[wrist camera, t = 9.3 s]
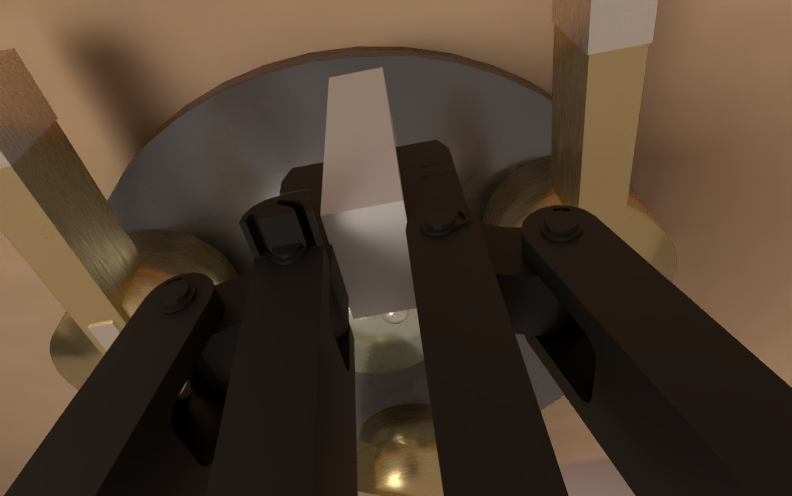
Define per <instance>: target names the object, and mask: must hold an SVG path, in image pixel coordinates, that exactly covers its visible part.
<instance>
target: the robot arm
mask: <svg viewBox="0 0 792 496" xmlns="http://www.w3.org/2000/svg"><path fill="white" fill-rule="evenodd" d="M279 194H280V196H277V197H273V198H270V199H266V200H264V201H262V202H260V203H258V204H256V205H254V206H253V207H251V208H250V209H249V210H248V211H247V212H246V213H245V214H244V215H243V216H242V218H241V220H240V222H239V225H240V227H241V229H242V232H243V234H244V236H245V238H246V241H247V243H248V245H249V247H250V250H251V252H252V254H253V256H254V262H253V267H252V269H250V270H249V271H247V272H246V273H243V274H241V275H239V276H237V277H235V278H232V279H230V280H228V281H225V282H223V283H220V284H218V285H215V284H214V282H213V280H212V279H211V278H210V277H208V276H207V275H206V274H202V273H196V272H192V273H185V274H180V275H177V276H175V277H172V278H170V279H167V280H166V281H164V282H163V283H161V284H160V285H158V286H156V287H155V288H154V289H153V290H152V291H151V292H150V293H149V294H148V295H147V296H146V297H145V298H144V300H143V301H142V303H141V304H140V305H139V307H138V308H137V310H136V311H135V312H134V314H133V315H132V317H131V318H130V319H129V321H128V322H127V324H126V325H125V327H124V328H123V329H122V331H121V332H120V334H119V335H118V336H117V338H116V339H115V341H114V342H113V343H112V345H111V346H110V348H109V349H108V350H107V352H106V353H105V355H104V356H103V357H102V359H101V360H100V362H99V363H98V364H97V366H96V367H95V369H94V370H93V371H92V373H91V374H90V376H89V377H88V378H87V380H86V381H85V383H84V384H83V385H82V387H81V388H80V390H79V391H78V392H77V394H76V395H75V397H74V398H73V399H72V401H71V402H70V404H69V405H68V407H67V408H66V409H65V411H64V412H63V414H62V415H61V416H60V418H59V419H58V421H57V422H56V423H55V425H54V426H53V428H52V429H51V430H50V432H49V433H48V435H47V436H46V437H45V439H44V440H43V442H42V443H41V444H40V446H39V447H38V449H37V450H36V451H35V453H34V454H33V456H32V457H31V458H30V460H29V461H28V463H27V464H26V465H25V467H24V468H23V470H22V471H21V472H20V474H19V475H18V477H17V478H16V480H15V481H14V482H13V484H12V485H11V487H10V488H9V489H8V491H7V492H6V494H5V495H4V496H358V484H357V439H356V393H355V348H354V336H353V333H352V329H351V326H350V323H349V307H350V310H351V313H352V317H353V319H357V318H363V317H368V316H374V315H380V314H386V313H392V312H397V311H403V310H409V309H415V308H417V314H418V321H419V328H420V335H421V342H422V349H423V356H424V363H425V370H426V377H427V383H428V390H429V397H430V404H431V411H432V418H433V425H434V432H435V439H436V446H437V453H438V460H439V467H440V474H441V480H442V487H443V494H444V496H568V493H567V490H566V487H565V484H564V481H563V478H562V475H561V472H560V469H559V466H558V463H557V460H556V456H555V453H554V450H553V447H552V444H551V441H550V438H549V435H548V432H547V429H546V426H545V423H544V420H543V417H542V414H541V411H540V408H539V405H538V402H537V399H536V396H535V393H534V390H533V387H532V384H531V381H530V378H529V375H528V372H527V369H526V366H525V363H524V360H523V357H522V353H521V350H520V347H519V344H518V341H517V338H516V335H515V334H522V335H525V338H526V340H527V342H528V344H529V345H530V346H531V348H532V349H533V351H534V352H535V353H536V355H537V356H538V358H539V359H540V361H541V362H542V363H543V365H544V366H545V368H546V369H547V371H548V372H549V373H550V375H551V376H552V378H553V379H554V380H555V382H556V383H557V385H558V386H559V388H560V389H561V390H562V392H563V393H564V395H565V396H566V397H567V399H568V400H569V402H570V403H571V405H572V406H573V407H574V409H575V410H576V412H577V413H578V415H579V416H580V417H581V419H582V420H583V422H584V423H585V424H586V426H587V427H588V429H589V430H590V432H591V433H592V434H593V436H594V437H595V439H596V440H597V442H598V443H599V444H600V446H601V447H602V449H603V450H604V451H605V453H606V454H607V456H608V457H609V459H610V460H611V461H612V463H613V464H614V466H615V467H616V468H617V470H618V471H619V473H620V474H621V475H622V477H623V478H624V480H625V481H626V483H627V484H628V486H629V487H630V488H631V489H632V491H633V493H634V494H635V495H636V496H792V388H791V387H790V386H789V385H788V384H787V383H786V382H785V381H783V380H782V379H781V378H780V377H779V376H778V375H777V374H775V373H774V372H773V371H772V370H771V369H770V368H769V367H767V366H766V365H765V364H764V363H763V362H762V361H761V360H759V359H758V358H757V357H756V356H755V355H754V354H753V353H751V352H750V351H749V350H748V349H747V348H746V347H745V346H743V345H742V344H741V343H740V342H739V341H738V340H737V339H735V338H734V337H733V336H732V335H731V334H730V333H729V332H727V331H726V330H725V329H724V328H723V327H722V326H721V325H719V324H718V323H717V322H716V321H715V320H714V319H713V318H711V317H710V316H709V315H708V314H707V313H706V312H705V311H703V310H702V309H701V308H700V307H699V306H698V305H697V304H695V303H694V302H693V301H692V300H691V299H690V298H689V297H687V296H686V295H685V294H684V293H683V292H682V291H681V290H679V289H678V288H677V287H676V286H675V285H674V284H673V283H671V282H670V281H669V280H668V279H667V278H666V277H665V276H663V275H662V274H661V273H660V272H659V271H658V270H657V269H655V268H654V267H653V266H652V265H651V264H650V263H649V262H647V261H646V260H645V259H644V258H643V257H642V256H641V255H639V254H638V253H637V252H636V251H635V250H634V249H633V248H631V247H630V246H629V245H628V244H627V243H626V242H625V241H623V240H622V239H621V238H620V237H619V236H618V235H617V234H615V233H614V232H613V231H612V230H611V229H610V228H609V227H607V226H606V225H605V224H604V223H603V222H602V221H601V220H599V219H598V218H597V217H596V216H595V215H593V214H591V213H590V212H588V211H586V210H585V209H581V208H577V207H574V206H565V205H554V206H549V207H544V208H540V209H538V210H536V211H534V212H532V213H531V214H529V215H528V216H527V218H526V219H525V220H524V221H523V224H522V228H520V227H502V226H494V225H491V224H487V223H484V222H482V221H480V220H478V219H477V218H476V216H475V215H474V213H473V212H472V211H471V210H470V209H469V208H468V206H467V203H466V199H465V196H464V193H463V190H462V187H461V184H460V181H459V178H458V175H457V173H456V168H455V165H454V163H453V159H452V156H451V153H450V150H449V148H448V147H447V146H445V145H444V144H443V143H441V142H440V141H439V140H437V139H436V140H431V141H425V142H420V143H415V144H409V145H404V146H399V147H397V143H396V138H395V132H394V127H393V121H392V116H391V111H390V105H389V100H388V94H387V89H386V84H385V78H384V73H383V67H381V68H376V69H371V70H365V71H360V72H355V73H350V74H345V75H340V76H334V77H329V85H328V101H327V117H326V133H325V149H324V162H321V163H316V164H311V165H305V166H300V167H295V168H292V169H291V170H290V171H289V172H288V174H287V175H286V176H285V177H284V179H283V180H282V182H281V188H280V193H279ZM185 383H187V384H186V386H185V388H184V390H183V391H182V392H181V390H182V389H183V387H184V385H185ZM180 392H181V394H180ZM179 394H180V395H179Z"/></svg>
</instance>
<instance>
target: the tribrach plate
mask: <svg viewBox="0 0 792 496" xmlns="http://www.w3.org/2000/svg"><path fill="white" fill-rule="evenodd" d="M381 67H383V73H384V78H385V84H386V89H387V94H388V100H389V105H390V111H391V116H392V121H393V127H394V132H395V138H396V143H397V147H399V146H404V145H409V144H415V143H420V142H425V141H431V140H436V139H437V140H439V141H440V142H441V143H443V144H444V145H445V146H447V147H448V148H449V150H450V153H451V156H452V159H453V163H454V165H455V168H456V173H457V175H458V178H459V181H460V184H461V187H462V190H463V193H464V196H465V199H466V203H467V206H468V208H469V209H470V210H471V211H472V212H473V213H474V215H475V216H476V218H477V219H478V220H480V221H482V222H483V217H484V212H485V209H486V206H487V204H488V202H489V200H490V198H491V196H492V194H493V193H494V191H495V190H496V189H497V188H498V186H499V185H500V184H501V183H502V182H503V181H504V180H505V179H506V178H507V177H508V176H509V175H510V174H512V173H513V172H514V171H516V170H517V169H519V168H520V167H522V166H523V165H525V164H527V163H529V162H531V161H533V160H535V159H538V158H541V157H544V156H547V155H551V139H552V98H553V97H552V96H551V95H549V94H548V93H546V92H545V91H543V90H541V89H540V88H538V87H537V86H535V85H534V84H532V83H530V82H528V81H526V80H524V79H521V78H519V77H517V76H515V75H513V74H510V73H508V72H506V71H504V70H502V69H499V68H497V67H495V66H492V65H489V64H485V63H482V62H478V61H475V60H471V59H468V58H464V57H461V56H457V55H454V54H450V53H443V52H436V51H429V50H421V49H414V48H407V47H353V48H345V49H337V50H329V51H321V52H314V53H308V54H304V55H300V56H297V57H293V58H289V59H286V60H282V61H278V62H274V63H271V64H267V65H264V66H261V67H259V68H257V69H254V70H252V71H250V72H247V73H245V74H243V75H240V76H238V77H235V78H233V79H231V80H228V81H226V82H224V83H222V84H220V85H219V86H217V87H215V88H214V89H212V90H210V91H209V92H207V93H205V94H204V95H202V96H201V97H199V98H197V99H196V100H194V101H192V102H191V103H189V104H187V105H186V106H185V107H184V108H182V109H181V110H180V111H179V112H178V113H176V114H175V115H174V116H173V117H172V118H171V119H169V120H168V121H167V122H166V123H165V124H164V125H162V126H161V127H160V128H159V129H158V130H157V131H155V133H154V134H153V135H152V136H151V137H150V139H149V140H148V141H147V142H146V143H145V145H144V146H143V147H142V148H141V149H140V150H139V152H138V153H137V154H136V155H135V156H134V158H133V159H132V160H131V162H130V163H129V165H128V167H127V168H126V170H125V171H124V173H123V175H122V176H121V178H120V180H119V182H118V183H117V185H116V187H115V189H114V190H113V192H112V194H111V196H110V197H109V199H108V201H107V202H108V204H109V206H110V207H111V209H112V210H113V212H114V214H115V215H116V217H117V218H118V220H119V222H120V223H121V225H122V226H123V228H124V230H125V231H126V233H130V232H134V231H140V230H151V229H159V230H169V231H175V232H179V233H183V234H187V235H190V236H192V237H195V238H198V239H200V240H202V241H204V242H206V243H207V244H209V245H211V246H212V247H214V248H215V249H217V250H218V251H219V252H220V253H222V254H223V255H224V256H225V257H226V258H227V259H228V260H229V262H230V263H231V264H232V266H233V267H234V269H235V270H236V272H237V274H238V276H239V275H241V274H243V273H246V272H247V271H249V270H250V269H252V267H253V262H254V256H253V254H252V252H251V250H250V247H249V245H248V243H247V241H246V238H245V236H244V234H243V232H242V229H241V227H240V225H239V222H240V220H241V218H242V216H243V215H244V214H245V213H246V212H247V211H248V210H249V209H250V208H251V207H253V206H254V205H256V204H258V203H260V202H262V201H264V200H266V199H270V198H273V197H277V196H280V194H279V193H280V188H281V182H282V180H283V179H284V177H285V176H286V175H287V174H288V172H289V171H290V170H291V169H292V168H295V167H300V166H305V165H311V164H316V163H321V162H324V149H325V133H326V117H327V101H328V85H329V77H334V76H340V75H345V74H350V73H355V72H360V71H365V70H371V69H376V68H381ZM629 187H630V186H629ZM630 189H631V190H632V188H631V187H630ZM632 191H633V190H632ZM349 323H350V326H351V329H352V333H353V336H354V348H355V393H356V439H357V441H359V431H360V428H361V426H362V425H363V424H364V422H365V421H366V420H367V419H368V418H370V417H371V416H372V415H374V414H375V413H377V412H379V411H381V410H383V409H386V408H389V407H393V406H396V405H402V404H413V403H418V404H429V405H431V404H430V397H429V390H428V383H427V377H426V370H425V363H424V356H423V349H422V342H421V335H420V328H419V321H418V314H417V308H415V309H409V310H403V311H397V312H392V313H386V314H380V315H374V316H368V317H363V318H357V319H353V317H352V313H351V310H350V307H349ZM515 335H516V338H517V341H518V344H519V347H520V350H521V353H522V357H523V360H524V363H525V366H526V369H527V372H528V375H529V378H530V381H531V384H532V387H533V390H534V393H535V396H536V399H537V402H538V405H539V408H540V410H542V409H543V408H545V407H546V406H548V405H549V404H551V403H553V402H554V401H556V400H557V399H559V398H560V397H561V396H562V395H564V393H563V392H562V390H561V389H560V388H559V386H558V385H557V383H556V382H555V380H554V379H553V378H552V376H551V375H550V373H549V372H548V371H547V369H546V368H545V366H544V365H543V363H542V362H541V361H540V359H539V358H538V356H537V355H536V353H535V352H534V351H533V349H532V348H531V346H530V345H529V344H528V342H527V340H526V338H525V335H522V334H515Z"/></svg>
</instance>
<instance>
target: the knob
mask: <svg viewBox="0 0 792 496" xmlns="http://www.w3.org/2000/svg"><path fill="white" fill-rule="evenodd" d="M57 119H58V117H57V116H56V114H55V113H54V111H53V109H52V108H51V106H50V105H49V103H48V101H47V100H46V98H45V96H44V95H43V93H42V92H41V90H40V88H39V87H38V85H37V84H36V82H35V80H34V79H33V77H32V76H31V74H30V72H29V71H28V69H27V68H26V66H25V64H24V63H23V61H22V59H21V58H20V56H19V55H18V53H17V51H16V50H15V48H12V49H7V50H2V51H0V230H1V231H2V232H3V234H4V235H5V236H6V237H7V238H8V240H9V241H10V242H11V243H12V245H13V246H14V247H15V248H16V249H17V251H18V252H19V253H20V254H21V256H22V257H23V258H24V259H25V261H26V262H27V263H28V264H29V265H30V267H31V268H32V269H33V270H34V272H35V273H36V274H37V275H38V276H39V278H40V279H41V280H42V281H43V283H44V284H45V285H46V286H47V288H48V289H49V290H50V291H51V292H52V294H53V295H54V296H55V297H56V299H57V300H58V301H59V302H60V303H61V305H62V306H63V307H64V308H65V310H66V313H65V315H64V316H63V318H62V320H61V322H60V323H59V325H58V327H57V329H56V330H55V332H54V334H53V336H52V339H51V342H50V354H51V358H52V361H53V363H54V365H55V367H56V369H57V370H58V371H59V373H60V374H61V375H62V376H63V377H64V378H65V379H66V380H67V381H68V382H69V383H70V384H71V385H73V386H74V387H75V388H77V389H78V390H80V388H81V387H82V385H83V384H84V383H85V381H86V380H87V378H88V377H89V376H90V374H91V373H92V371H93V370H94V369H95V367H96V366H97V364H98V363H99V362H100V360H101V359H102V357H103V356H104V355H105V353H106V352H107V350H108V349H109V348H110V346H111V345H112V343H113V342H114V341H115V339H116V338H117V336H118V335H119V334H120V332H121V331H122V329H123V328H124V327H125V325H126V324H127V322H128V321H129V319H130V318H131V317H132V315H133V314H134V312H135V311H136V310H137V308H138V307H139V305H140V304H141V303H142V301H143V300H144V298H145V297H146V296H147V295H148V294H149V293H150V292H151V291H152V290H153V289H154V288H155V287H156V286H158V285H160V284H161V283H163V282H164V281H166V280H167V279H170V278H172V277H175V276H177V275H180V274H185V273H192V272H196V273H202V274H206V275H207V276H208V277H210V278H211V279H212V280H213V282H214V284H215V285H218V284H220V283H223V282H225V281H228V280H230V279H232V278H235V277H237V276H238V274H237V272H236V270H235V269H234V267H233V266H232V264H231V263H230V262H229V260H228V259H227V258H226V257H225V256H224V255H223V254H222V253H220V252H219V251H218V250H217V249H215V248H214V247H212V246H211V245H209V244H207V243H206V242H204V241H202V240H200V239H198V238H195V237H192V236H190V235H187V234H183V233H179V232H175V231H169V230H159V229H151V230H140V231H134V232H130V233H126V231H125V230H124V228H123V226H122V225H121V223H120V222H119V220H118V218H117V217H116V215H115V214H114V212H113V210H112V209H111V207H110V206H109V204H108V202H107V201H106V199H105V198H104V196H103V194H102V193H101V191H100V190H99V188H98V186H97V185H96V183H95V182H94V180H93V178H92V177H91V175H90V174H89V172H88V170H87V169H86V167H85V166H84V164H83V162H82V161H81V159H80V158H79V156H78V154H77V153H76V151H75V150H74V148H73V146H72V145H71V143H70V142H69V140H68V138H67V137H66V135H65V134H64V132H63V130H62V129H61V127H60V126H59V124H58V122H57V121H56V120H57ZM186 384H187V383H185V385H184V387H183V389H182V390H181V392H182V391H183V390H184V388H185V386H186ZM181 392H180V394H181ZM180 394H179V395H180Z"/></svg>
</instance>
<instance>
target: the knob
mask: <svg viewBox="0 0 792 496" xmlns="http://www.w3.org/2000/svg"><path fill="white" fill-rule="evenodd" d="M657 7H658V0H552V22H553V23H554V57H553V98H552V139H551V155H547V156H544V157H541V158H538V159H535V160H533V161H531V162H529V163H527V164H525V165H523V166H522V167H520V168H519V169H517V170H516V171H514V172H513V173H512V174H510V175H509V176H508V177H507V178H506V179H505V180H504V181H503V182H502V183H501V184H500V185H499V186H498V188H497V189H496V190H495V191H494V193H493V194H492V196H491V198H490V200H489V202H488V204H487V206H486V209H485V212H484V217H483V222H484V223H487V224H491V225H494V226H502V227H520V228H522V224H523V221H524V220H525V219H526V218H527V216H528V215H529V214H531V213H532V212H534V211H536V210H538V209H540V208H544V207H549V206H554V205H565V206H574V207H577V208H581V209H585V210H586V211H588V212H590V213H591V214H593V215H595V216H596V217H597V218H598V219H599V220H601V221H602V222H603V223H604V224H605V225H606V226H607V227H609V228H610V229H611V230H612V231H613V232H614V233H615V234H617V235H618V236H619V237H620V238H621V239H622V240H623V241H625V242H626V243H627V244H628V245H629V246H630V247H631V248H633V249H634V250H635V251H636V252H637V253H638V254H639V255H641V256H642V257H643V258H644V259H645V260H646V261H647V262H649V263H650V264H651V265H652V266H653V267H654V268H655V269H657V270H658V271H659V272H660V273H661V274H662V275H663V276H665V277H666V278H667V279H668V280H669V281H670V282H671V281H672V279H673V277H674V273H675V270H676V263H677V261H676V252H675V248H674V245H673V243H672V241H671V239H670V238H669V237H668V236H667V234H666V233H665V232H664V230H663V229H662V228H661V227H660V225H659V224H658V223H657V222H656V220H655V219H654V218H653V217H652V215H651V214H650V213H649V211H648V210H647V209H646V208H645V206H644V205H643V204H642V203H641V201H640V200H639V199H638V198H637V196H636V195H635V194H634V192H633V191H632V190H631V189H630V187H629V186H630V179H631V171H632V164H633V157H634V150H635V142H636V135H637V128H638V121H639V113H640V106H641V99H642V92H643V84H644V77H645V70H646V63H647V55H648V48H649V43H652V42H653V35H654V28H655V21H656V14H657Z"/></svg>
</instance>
